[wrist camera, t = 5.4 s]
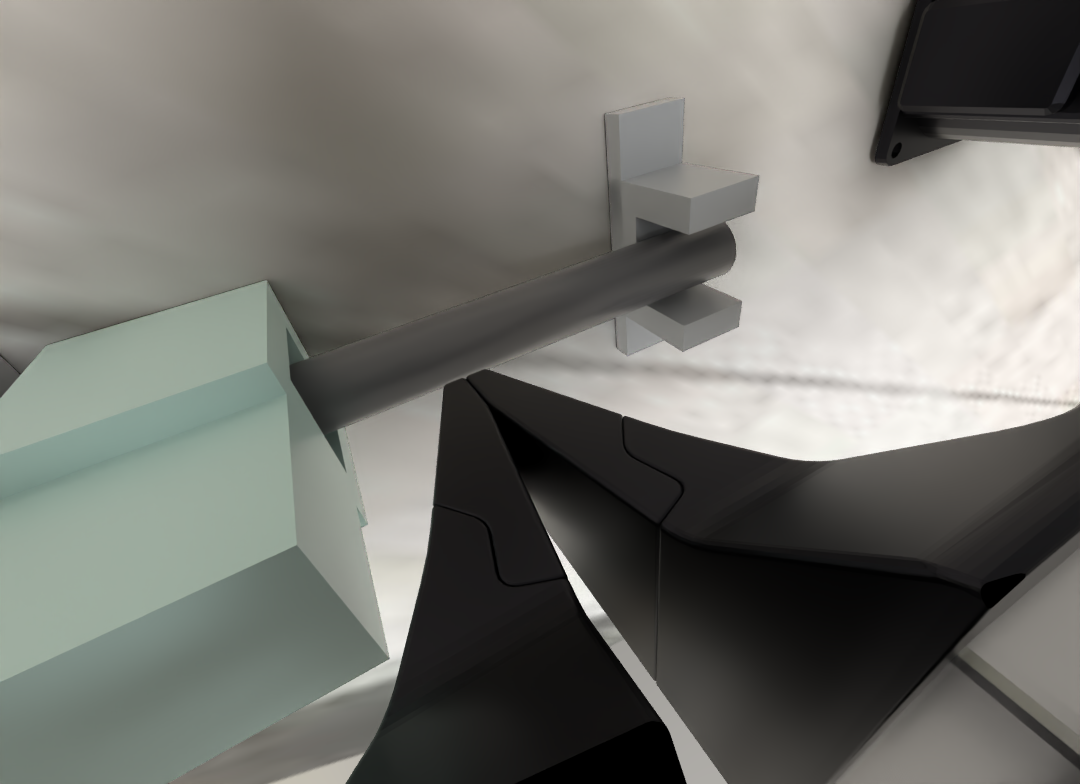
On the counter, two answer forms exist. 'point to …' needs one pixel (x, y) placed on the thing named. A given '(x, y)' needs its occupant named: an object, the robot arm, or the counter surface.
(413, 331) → the grey angular piece
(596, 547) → the robot arm
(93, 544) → the mint stepped block
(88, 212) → the counter surface
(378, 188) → the counter surface
